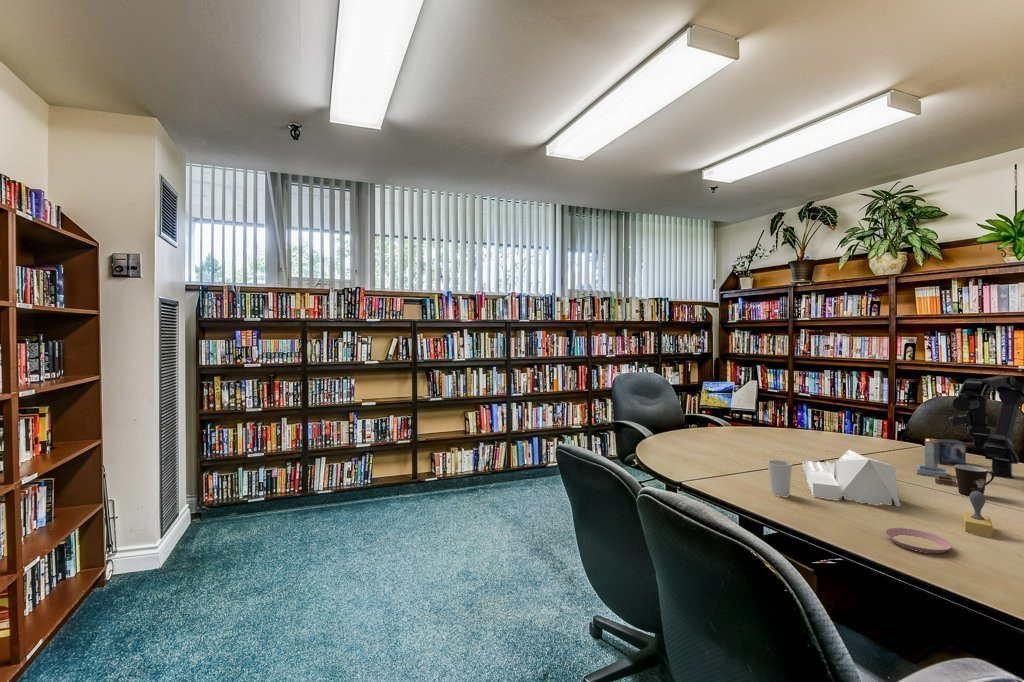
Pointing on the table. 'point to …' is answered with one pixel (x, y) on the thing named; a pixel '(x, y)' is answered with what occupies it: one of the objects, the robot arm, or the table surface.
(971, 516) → the rubber stamp
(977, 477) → the coffee mug
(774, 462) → the cup
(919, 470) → the tray
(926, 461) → the pin
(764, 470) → the table surface
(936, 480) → the block
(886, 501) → the white faceted model
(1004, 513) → the table surface
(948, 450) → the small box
